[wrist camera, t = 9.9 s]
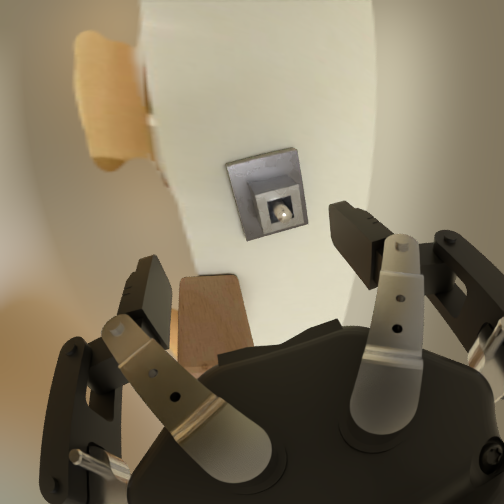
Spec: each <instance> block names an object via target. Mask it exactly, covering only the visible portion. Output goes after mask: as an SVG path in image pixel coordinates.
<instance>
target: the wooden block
mask: <svg viewBox="0 0 504 504" xmlns="http://www.w3.org/2000/svg"><path fill="white" fill-rule="evenodd" d="M245 347H254V343H253V339H252V335H251V331H250V327H249V323H248V319H247V315H246V310H245V306H244V302H243V298H242V294H241V289H240V285H239V281H238V279H237V277H236V276H235V275H219V276H198V277H184V278H182V279H181V281H180V288H179V312H178V363H179V364H180V365H181V366H182V367H184V368H185V369H186V370H187V371H188V372H189V373H190V374H191V375H192V376H194V377H195V378H196V379H198V378H199V377H200V376H201V375H202V374H203V373H204V372H206V371H207V370H208V369H210V368H212V367H213V366H215V365H217V364H218V358H217V355H218V354H222V353H226V352H230V351H234V350H238V349H241V348H245Z"/></svg>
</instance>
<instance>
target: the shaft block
mask: <svg viewBox="0 0 504 504" xmlns="http://www.w3.org/2000/svg"><path fill="white" fill-rule="evenodd" d="M226 167H227V171H228V174H229V178H230V182H231V186H232V189H233V193H234V197H235V201H236V204H237V208H238V212H239V215H240V219H241V223H242V227H243V230H244V234H245V237H246V240H247V241H250V240H253V239H257V238H260V237H264V236H267V235H271V234H274V233H278V232H281V231H285V230H289V229H292V228H296V227H299V226H303V225H306V224H308V217H307V210H306V203H305V196H304V189H303V182H302V176H301V170H300V164H299V158H298V152H297V149H295V148H293V147H292V148H288V149H283V150H279V151H274V152H270V153H266V154H261V155H257V156H253V157H249V158H245V159H241V160H238V161H234V162H230V163H226ZM285 174H287V175H288V176H289V177H291V178H292V179H293V180H294V181H295V182H296V183H297V184H298V185H299V192H300V198H301V205H302V212H303V220H304V223H303V224H299V225H296V226H292V227H288V228H285V229H281V230H277V231H274V232H270V233H267V234H264V233H263V231H262V229H261V227H260V225H259V223H258V220H257V218H256V214H255V209H254V205H253V201H252V196H251V192H250V188H249V183H253V182H257V181H261V180H265V179H269V178H273V177H277V176H281V175H285ZM267 206H268V208H271V209H272V211H273V212H274V214H275V215H276V217H277V219H278V220H279V221H280V222H281V223H287V222H289V221H290V220H291V218H292V213H291V212H290V210H289V209H288V208H287V207H286V205H285V204H284V202H283V198H279V199H275V200H271V201H267Z"/></svg>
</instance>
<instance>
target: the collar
mask: <svg viewBox="0 0 504 504" xmlns="http://www.w3.org/2000/svg"><path fill="white" fill-rule="evenodd" d="M249 188H250V192H251V196H252V201H253V205H254V209H255V214H256V218H257V220H258V223H259V225H260V227H261V229H262V231H263V233H264V234H267V233H270V232H274V231H277V230H281V229H285V228H288V227H292V226H296V225H299V224H303V223H304V220H303V212H302V205H301V198H300V192H299V185H298V184H297V183H296V182H295V181H294V180H293V179H292V178H291V177H289V176H288V175H287V174H285V175H281V176H277V177H273V178H269V179H265V180H261V181H257V182H253V183H249ZM279 198H283V202H284V204H285V205H286V207H287V208H288V209H289V210H290V212H291V213H292V218H291V220H290V221H289V222H287V223H281V222H280V221H279V220H278V219H277V217H276V215H275V214H274V212H273V211H272V209H271V208H268V206H267V201H271V200H275V199H279Z"/></svg>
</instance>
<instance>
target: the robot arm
mask: <svg viewBox="0 0 504 504" xmlns="http://www.w3.org/2000/svg"><path fill="white" fill-rule="evenodd" d="M329 219H330V231H331V238H332V242H333V244H334V246H335V247H336V249H337V250H338V251H339V252H340V254H341V255H342V256H343V257H344V259H345V260H346V261H347V262H348V264H349V265H350V266H351V267H352V269H353V270H354V271H355V272H356V274H357V275H358V276H359V278H360V279H361V280H362V281H363V283H364V284H365V285H366V287H367V288H368V289H369V290H371V289H374V288H376V287H378V289H377V295H376V301H375V306H374V311H373V316H372V321H371V326H370V328H367V327H361V326H341V324H340V322H339V320H338V319H334V320H332V321H329V322H326V323H323V324H320V325H317V326H314V327H311V328H309V329H307V330H305V331H303V332H302V333H300V334H298V335H296V336H295V337H293V338H291V339H289V340H288V341H286V342H284V343H282V344H279V345H269V346H255V347H245V348H241V349H238V350H234V351H230V352H226V353H222V354H218V355H217V358H218V364H217V365H215V366H213V367H212V368H210V369H208V370H207V371H206V372H204V373H203V374H202V375H201V376H200V377H199V378H198V379H196V378H195V377H194V376H192V375H191V374H190V373H189V372H188V371H187V370H186V369H185V368H184V367H182V366H181V365H180V364H179V363H178V362H177V361H176V360H175V359H174V358H173V357H172V356H171V355H170V354H169V353H168V352H167V351H165V350H166V349H169V342H170V321H171V305H172V304H171V303H172V288H171V285H170V283H169V280H168V278H167V276H166V274H165V272H164V270H163V268H162V265H161V263H160V261H159V259H158V258H157V256H156V255H151V256H148V257H145V258H142V259H140V260H139V262H138V265H137V269H136V272H133V273H132V274H131V275H130V277H129V278H128V279H127V281H126V284H125V287H124V291H123V294H122V295H123V296H122V298H121V302H120V305H119V309H118V313H117V316H114V317H113V318H111V319H110V320H109V321H107V322H106V324H105V325H104V327H103V328H102V331H101V337H100V338H98V339H96V340H94V341H92V342H90V343H88V344H87V343H86V341H85V340H84V339H83V338H82V337H74V338H71V339H70V340H68V341H67V342H66V343H65V344H64V345H63V347H62V349H61V351H60V354H59V357H58V361H57V365H56V368H55V373H54V377H53V381H52V385H51V390H50V394H49V399H48V405H47V410H46V416H45V422H44V429H43V437H42V445H41V456H40V473H39V486H40V491H41V494H42V495H43V497H44V499H45V500H46V501H47V502H49V503H50V504H504V442H503V441H502V439H501V437H500V435H499V431H498V427H497V422H496V417H495V402H497V401H498V400H499V399H504V275H503V274H502V273H501V272H500V271H499V270H498V269H497V268H496V267H495V266H494V265H493V264H492V263H491V262H490V261H489V260H488V259H487V258H486V257H485V256H484V255H482V253H480V252H479V251H478V250H477V249H476V248H475V247H474V246H473V245H471V244H470V243H469V242H468V241H467V240H466V239H464V238H463V237H462V236H461V235H460V234H458V233H456V232H454V231H450V230H441V231H438V232H437V233H436V234H435V237H434V242H433V243H423V244H418V241H416V239H414V238H413V237H411V236H409V235H406V234H394V233H392V232H391V231H390V230H389V229H388V228H386V227H385V226H384V225H383V224H382V223H380V222H379V221H378V220H377V219H376V218H374V217H373V216H372V215H371V214H370V213H368V212H367V211H364V210H362V209H359V208H356V209H355V208H354V207H353V206H351V205H350V204H349V203H348V202H346V201H341V202H337V203H333V204H330V205H329ZM456 276H458V277H459V278H460V279H461V281H462V282H463V283H464V284H465V286H466V289H467V296H466V295H465V294H464V293H463V291H462V290H461V289H460V288H459V287H458V286H457V285H456V283H455V280H456ZM424 295H426V296H427V297H428V298H429V300H430V301H431V302H432V304H433V305H434V306H435V308H436V309H437V310H438V311H439V313H440V314H441V316H442V317H443V318H444V320H445V321H446V322H447V324H448V325H449V326H450V328H451V329H452V330H453V332H454V333H455V335H456V336H457V338H458V339H459V341H460V342H461V344H462V345H463V347H464V348H465V350H466V351H467V352H468V363H469V366H467V365H464V364H462V363H459V362H456V361H454V360H451V359H448V358H446V357H443V356H440V355H438V354H435V353H433V352H430V351H427V350H425V349H422V345H423V329H424ZM127 383H130V384H131V385H132V387H133V388H134V389H135V391H136V392H137V393H138V395H139V396H140V397H141V398H142V400H143V401H144V402H145V404H146V405H147V406H148V407H149V409H150V410H151V411H152V412H153V413H154V415H155V416H156V417H157V418H158V419H159V421H161V423H162V424H163V425H164V428H163V429H162V431H161V432H160V434H159V435H158V437H157V438H156V440H155V441H154V442H153V444H152V445H151V447H150V448H149V450H148V451H147V453H146V454H145V456H144V457H143V458H142V460H141V461H140V463H139V464H138V466H137V467H136V468H135V470H134V471H133V473H132V474H130V471H129V468H128V466H127V464H126V463H125V462H124V461H123V460H122V457H121V405H122V386H123V385H125V384H127ZM87 386H88V387H89V388H90V389H91V392H90V401H89V406H88V404H87V402H86V388H87Z"/></svg>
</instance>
